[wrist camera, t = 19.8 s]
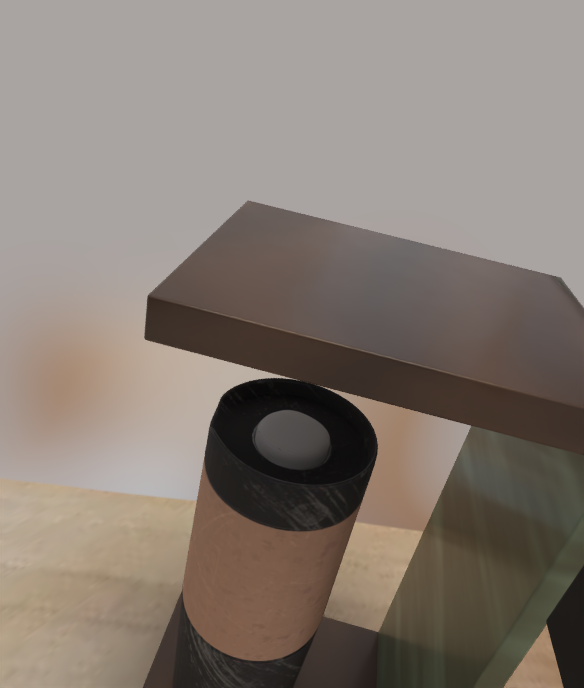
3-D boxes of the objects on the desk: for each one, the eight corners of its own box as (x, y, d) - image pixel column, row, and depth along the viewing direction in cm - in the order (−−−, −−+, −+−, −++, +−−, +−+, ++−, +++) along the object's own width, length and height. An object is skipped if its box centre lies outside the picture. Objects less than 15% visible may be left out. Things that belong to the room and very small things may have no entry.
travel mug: (317, 698, 34) (416, 451, 24) (211, 783, 29) (282, 517, 19) (246, 602, 38) (305, 363, 29) (145, 661, 34) (175, 398, 24)
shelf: (384, 652, 39) (561, 277, 25) (379, 868, 29) (680, 432, 15) (184, 594, 40) (247, 199, 26) (109, 784, 30) (146, 294, 15)
